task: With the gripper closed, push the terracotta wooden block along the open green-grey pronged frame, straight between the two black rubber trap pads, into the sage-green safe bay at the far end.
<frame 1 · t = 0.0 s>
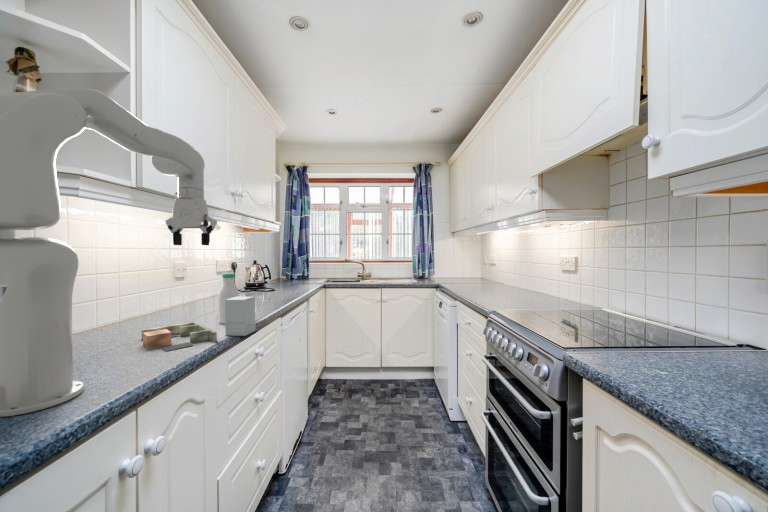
hand: (191, 245, 103), 31 cm above the counter, tool pointing down, fingers open, 9 cm apart
supplement box: (240, 333, 107), on the counter
milk bottle: (228, 322, 124), on the counter
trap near: (177, 347, 91), on the counter
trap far: (164, 337, 101), on the counter
green-grey pronged frame: (178, 340, 98), on the counter
block: (157, 345, 94), on the counter
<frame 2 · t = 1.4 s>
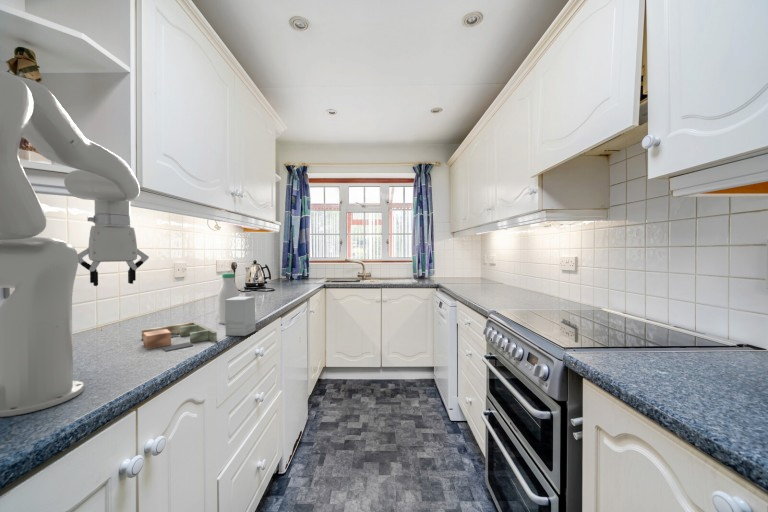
hand: (113, 284, 86), 20 cm above the counter, tool pointing down, fingers open, 6 cm apart
nothing on the counter moved.
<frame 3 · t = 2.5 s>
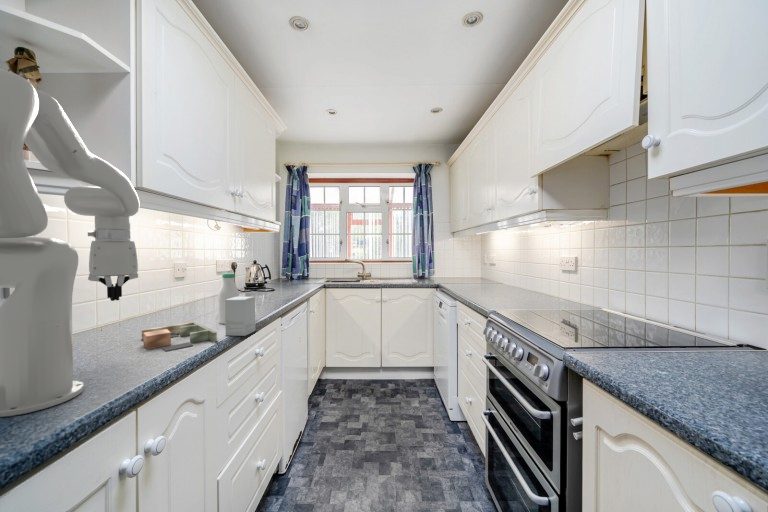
hand: (114, 299, 86), 15 cm above the counter, tool pointing down, fingers closed
nothing on the counter moved.
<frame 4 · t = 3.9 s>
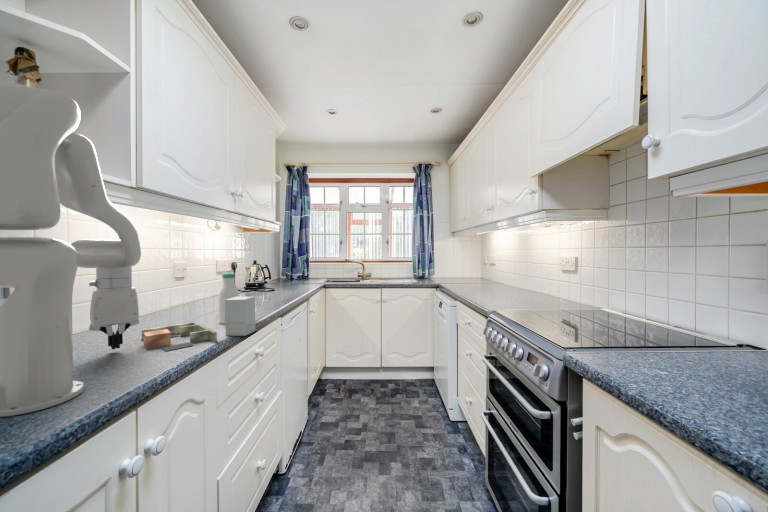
hand: (115, 347, 86), 1 cm above the counter, tool pointing down, fingers closed
nothing on the counter moved.
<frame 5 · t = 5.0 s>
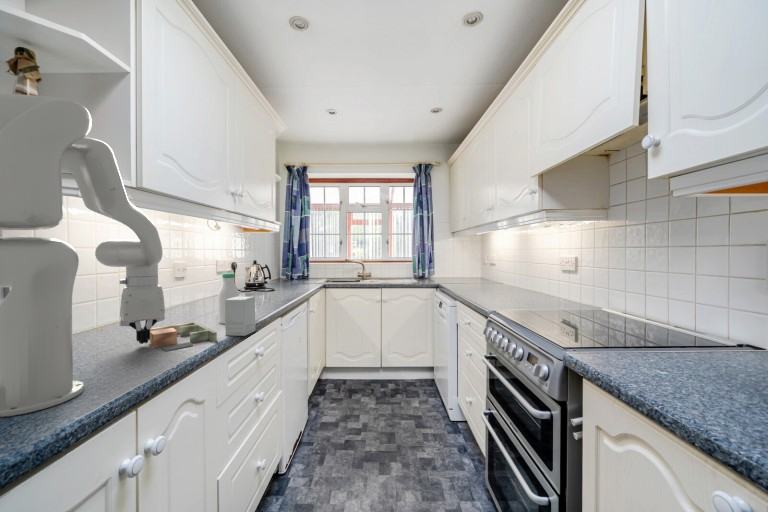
hand: (143, 342, 91), 1 cm above the counter, tool pointing down, fingers closed
block: (163, 343, 95), on the counter, touching gripper
everything else where it was.
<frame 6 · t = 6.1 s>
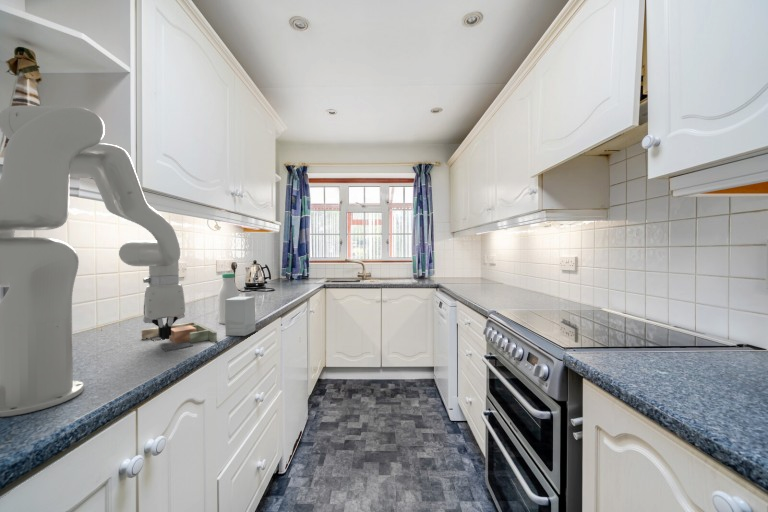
hand: (164, 338, 95), 1 cm above the counter, tool pointing down, fingers closed
block: (183, 340, 99), on the counter, touching gripper
everything else where it was.
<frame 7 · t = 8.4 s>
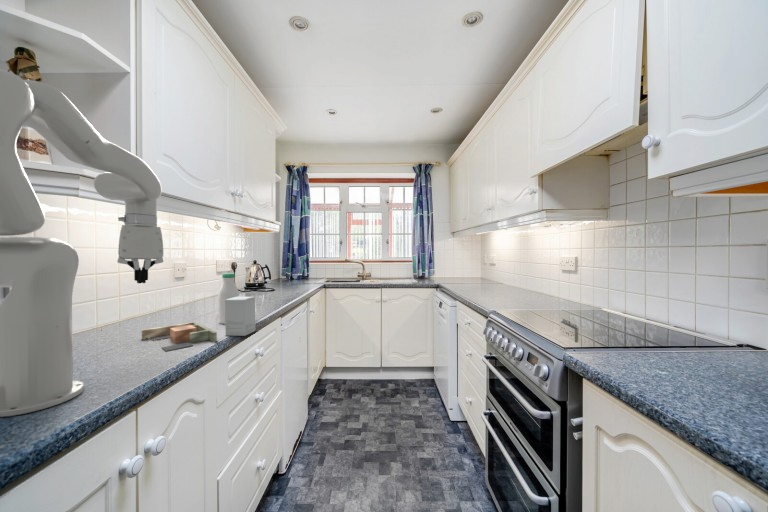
hand: (141, 282, 90), 20 cm above the counter, tool pointing down, fingers closed
block: (183, 340, 99), on the counter
everything else where it was.
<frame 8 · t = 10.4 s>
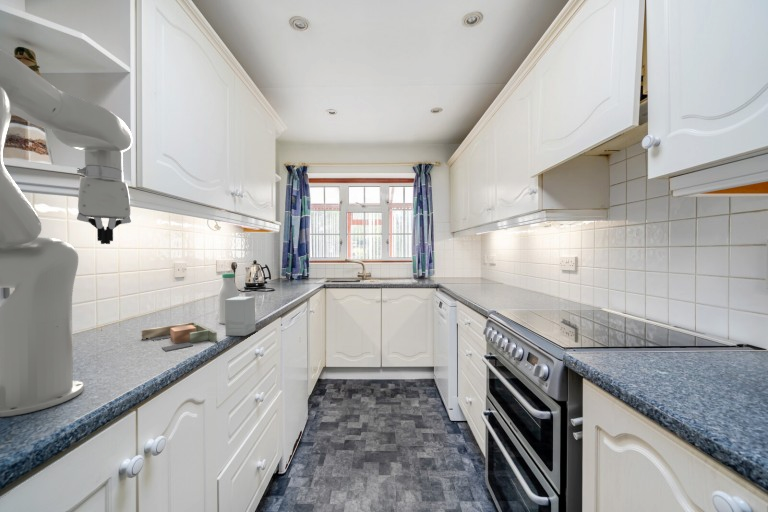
hand: (105, 243, 82), 31 cm above the counter, tool pointing down, fingers closed
nothing on the counter moved.
at the end: block 1.4 cm from the target spot, on the counter; block tilted 0°; block touching counter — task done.
